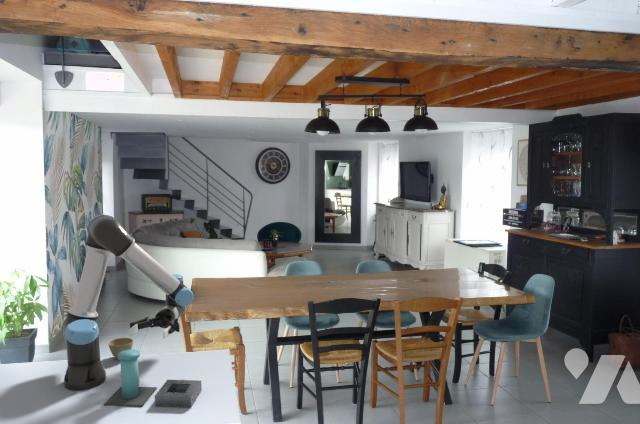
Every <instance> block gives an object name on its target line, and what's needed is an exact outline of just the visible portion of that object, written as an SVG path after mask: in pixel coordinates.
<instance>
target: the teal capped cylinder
mask: <svg viewBox="0 0 640 424" xmlns="http://www.w3.org/2000/svg"><path fill="white" fill-rule="evenodd" d="M140 356H141V351H140V350H138V349H133V348H132V349H131V350H125V351H122V352H120V353H118V359H119V361H120V378H121V381H120V383H121V386H122V397H123V398H125V399H132V398H135V397H137V396H139V387H140V379H139V378H140V377H139V375H140V374H139V358H140Z"/></svg>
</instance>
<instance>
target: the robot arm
mask: <svg viewBox="0 0 640 424" xmlns="http://www.w3.org/2000/svg"><path fill="white" fill-rule="evenodd" d="M84 246H85V247H86V248H87V252H86V257H85V260H84V264H83V267H82V271H81V276H80V280H79V283H78V287H77V291H76V295H75V299H74V303H73V306H72V307H70V308H69V309H68V310H67V313H66V318H65V319H64V321H63V323H62V326H61V333H62V336H63V338H64V343H65V347H66V356H67V359H66V361H67V367H66V370H65V374H64V378H63V387H64V388H66V389H67V390H70V391H84V390H89V389H93V388H96V387H98V386H101V385H102V384H104V383H105V381H106V380H107V372H106V370H105V368H104V365H103V363H102V361H101V352H100V329H99V325H98V323H97V321H98V317H99V313H98V312H97V306H98V302H99V298H100V294H101V290H102V286H103V283H104V278H105V275H106V270H107V268H108V264H109V259H110V256H111V254H113V255H114V256H115V257H117V258H122V259H123V260H124V261H126V262H127V263H128V264H129V265H130V266H131V267H133V268H134V269H135V270H136V271H137V272H139V273H140V274H141V275H143V276H144V277H145V278H146V279H147V280H149V281H150V282H151V283H152V284H153V285H154V286H156V287H157V288H158V289H160V290H161V291H162V292H163V293H164V294H165V306H164V307H163V308H162V309H160V310H159V311H158V312H157V313H156V314H155V316H154V317H152V318H150V316H146V317H144V318H141V319H139V320H136V321H135V320H134V321H132V322H130V323H129V329H128V337H133V336H134V335H135V334H136V333H137V332H138V331H139V330H142V329H147V328H155V327H156V328H157V327H159V328H161V329H164V330H163V334H162V335H163V336H162V337H163V339H166V338H167V337H168V336H170V335H171V334H173V333H175V332H176V333H180V327H181V325H180V324H179V318H181V317H182V316H183V315H184V313H185V312H186V309H187V307H188V306H190V305H191V304H192V303H193V301H194V299H195V297H194V296H195V295H194V293H193V291H192V290H191V289H190V288H188V287H187V286H186V285H185V284H184V276H183V275H182V274H177V273H174V274H172V273H171V272H170V271H168V270H167V269H166V268H165V267H164V266H163V265H162V264H160V262H158V261H157V260H156V259H155V258H153V256H152V255H150V254H149V253H148V252H146V251H145V250H144V248H142V247H141V246H140V245H138V244H137V243H136V241H135V238H134V237H133V236H132V235H131V234H130V233H129V232H128V231H127V229H125V228H124V226H123V225H122V223H120V221H119V220H117V219H116V218H115V216H114V217H113V216H111V215H109V214H99V215H96V216H94V217H93V218H92V219H91V220H90V221H89V223H88V225H87V236H86V239H85V245H84Z"/></svg>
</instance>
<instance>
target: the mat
mask: <svg viewBox="0 0 640 424" xmlns="http://www.w3.org/2000/svg"><path fill="white" fill-rule="evenodd" d="M157 387H158V386H139V396H137V397H135V398H132V399H125V398H123V397H122V385H121V386H119V387H118V388H117V389H116V391H115V392H114V393H113V394H112V395H111V396H110V397H109V398H108V399H107V400H106V401H105V402H104V403H103V406H105V407H106V406H107V407H108V406H109V407H111V406H112V407H135V408H136V407H138V408H139V407H140V408H141V407H144V405H145V404H146V403H147V401H149V399H150V398H151V396H153V394H155V391H156V390H157V389H158V388H157Z"/></svg>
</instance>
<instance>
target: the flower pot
mask: <svg viewBox="0 0 640 424" xmlns="http://www.w3.org/2000/svg"><path fill="white" fill-rule="evenodd" d="M107 344H108V348H109V351H110V353H111V355H112V356H113V357H114V359H115V360H119V359H118V353H120V352H122V351H125V350H132V349H133V346H134V345H133V344H134V339H132V338H129V337H118V338H115V339H114V338H113V339H112V340H110V341H108V343H107ZM119 361H120V360H119Z"/></svg>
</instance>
